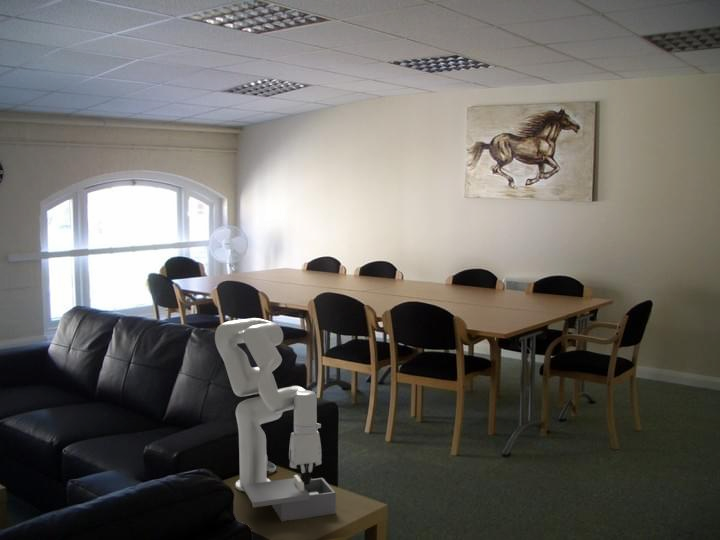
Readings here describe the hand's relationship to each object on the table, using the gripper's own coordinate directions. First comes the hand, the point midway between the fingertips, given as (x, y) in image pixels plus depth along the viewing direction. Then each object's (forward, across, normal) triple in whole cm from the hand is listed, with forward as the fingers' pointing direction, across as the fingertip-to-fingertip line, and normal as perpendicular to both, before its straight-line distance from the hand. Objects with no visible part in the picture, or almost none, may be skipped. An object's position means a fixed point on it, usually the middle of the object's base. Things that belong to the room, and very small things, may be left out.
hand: (305, 483), depth 246 cm
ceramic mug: (+9, +6, -40) cm, 41 cm away
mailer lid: (+2, +10, 0) cm, 10 cm away
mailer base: (+9, +1, 0) cm, 9 cm away
